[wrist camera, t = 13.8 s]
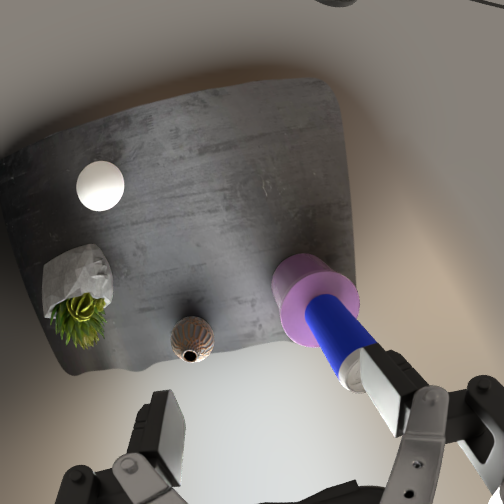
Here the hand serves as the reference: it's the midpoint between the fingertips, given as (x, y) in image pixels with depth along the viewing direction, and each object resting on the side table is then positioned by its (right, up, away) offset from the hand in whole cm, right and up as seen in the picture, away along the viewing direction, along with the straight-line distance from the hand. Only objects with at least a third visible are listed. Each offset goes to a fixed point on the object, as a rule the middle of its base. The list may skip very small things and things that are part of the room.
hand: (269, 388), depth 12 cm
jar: (+7, 0, +40) cm, 41 cm away
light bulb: (-21, +16, +34) cm, 43 cm away
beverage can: (+8, -2, +29) cm, 30 cm away
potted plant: (-27, 0, +37) cm, 46 cm away
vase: (-10, -7, +40) cm, 42 cm away
